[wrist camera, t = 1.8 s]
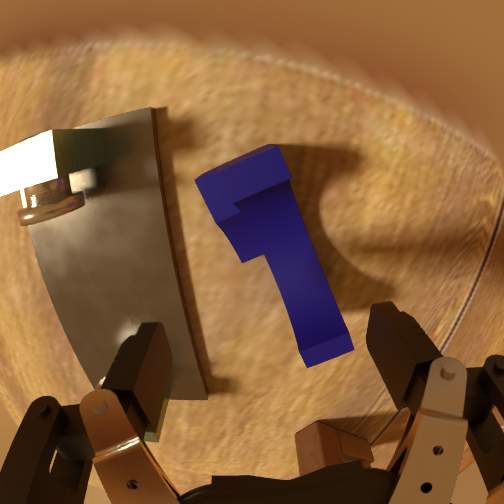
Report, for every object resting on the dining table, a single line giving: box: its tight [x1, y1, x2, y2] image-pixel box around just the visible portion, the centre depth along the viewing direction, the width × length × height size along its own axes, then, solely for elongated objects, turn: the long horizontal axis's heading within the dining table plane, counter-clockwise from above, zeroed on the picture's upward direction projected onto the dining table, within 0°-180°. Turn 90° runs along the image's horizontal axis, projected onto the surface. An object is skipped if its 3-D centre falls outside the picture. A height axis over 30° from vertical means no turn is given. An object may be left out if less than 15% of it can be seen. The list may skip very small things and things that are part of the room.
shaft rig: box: [0, 107, 208, 443], centre depth 17 cm, size 12×24×6 cm, turn 5°
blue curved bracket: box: [194, 144, 354, 368], centre depth 17 cm, size 12×4×6 cm, turn 24°
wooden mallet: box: [295, 421, 374, 476], centre depth 20 cm, size 4×11×18 cm, turn 50°
